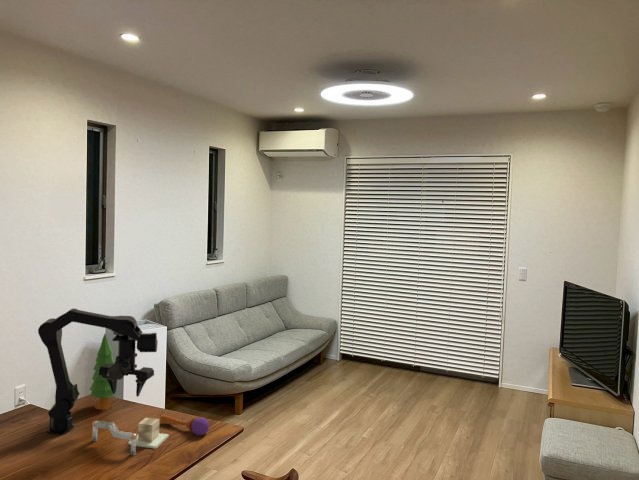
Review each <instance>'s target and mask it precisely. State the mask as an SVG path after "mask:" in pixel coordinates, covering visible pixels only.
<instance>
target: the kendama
mask: <svg viewBox="0 0 639 480" xmlns="http://www.w3.org/2000/svg"><path fill="white" fill-rule="evenodd" d="M159 424H161V425H175V426H176V425H177V426H179V425H180V426H185V427H186V428H187V429H188V430H189V431H190V432H192V433H194V434H195V435H196V436H203V435H205V434H206V433H207V432H208V431H209V429H210V425H209V421H208V420H207V419H206V418H205V417H197V418H196V419H195V418H192V419H190V420H187V421H184V420H181V419H180V418H179V419H178V418H176V417H172V416H169V415H167V414H162V415H161V417H160V418H159Z"/></svg>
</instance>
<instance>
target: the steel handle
mask: <svg viewBox="0 0 639 480" xmlns="http://www.w3.org/2000/svg"><path fill="white" fill-rule="evenodd" d="M91 426H92V433H91V434H92V438H91V440H92V441H91V442H92V443H95V442H98V434H99V433H98V430H99V429H105V430H106V429H107V430H109V431H110V433H111V435H112V436H113V438H115V439H122V440H128V441H131V445H130V456H132V457H134V456H136V455H137V446H136V438H137V435H138V434H137V433H135V432H129V431H128V432H127V431H121V430H119V429H118V427H117V425H116V424H115V423H114V422H111V421H104V420H94V421H92V423H91Z"/></svg>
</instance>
